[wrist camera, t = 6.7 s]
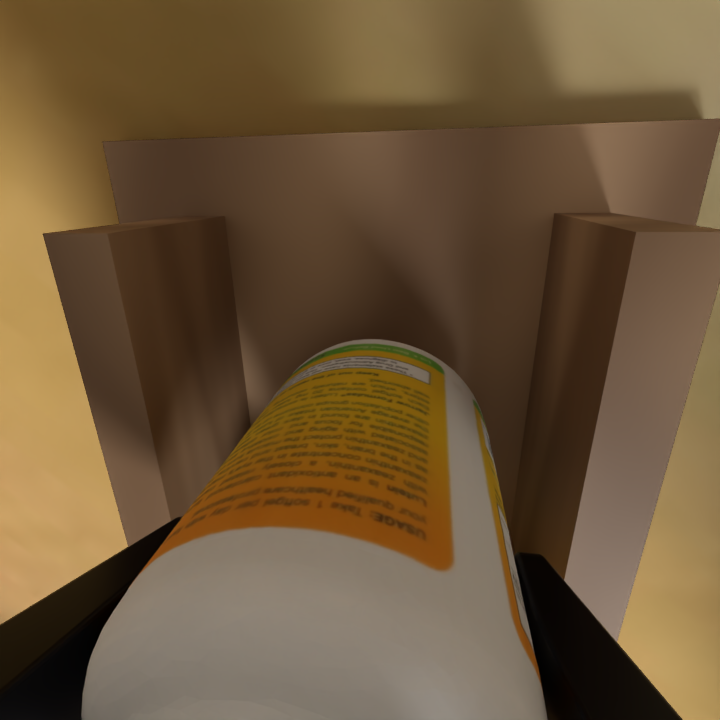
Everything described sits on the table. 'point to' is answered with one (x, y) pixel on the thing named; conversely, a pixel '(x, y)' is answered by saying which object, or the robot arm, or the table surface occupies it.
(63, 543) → the table surface
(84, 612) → the robot arm
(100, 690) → the supplement bottle
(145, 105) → the table surface
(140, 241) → the u rest
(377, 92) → the table surface
